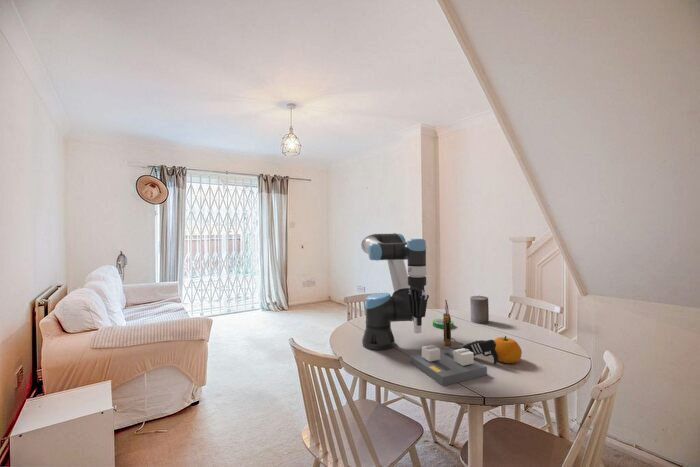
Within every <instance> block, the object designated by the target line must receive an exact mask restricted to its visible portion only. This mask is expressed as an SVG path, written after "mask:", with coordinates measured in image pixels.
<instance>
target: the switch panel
mask: <svg viewBox="0 0 700 467" xmlns="http://www.w3.org/2000/svg"><path fill="white" fill-rule="evenodd" d="M454 350H455V349H453V348H451V347H450V348H445V349H440V360H435V361H431V362H429V361H427V360H426V359H424V358H423V357H422V353H418V354H412V355H410V358H409V359H410V361H409V362H410V364H411V365H412V366H414V367H416V369H418V370H420V371H421V372H422V373H423V374H425V375H426V376H428V377H430V379H432V380H434V381H435V382H436V383H438V384H439V385H441V386H443V387H444V386H448V385H451V384H455V383H460V382H465V381H468V380H472V379H476V378H480V377H484V376H488V366H486V365H484V364H482V363H480V362H478V361H476V360H474V363H473V364H469V365H464V366H462V365H461V364H459V363H457V362H455V361H454Z"/></svg>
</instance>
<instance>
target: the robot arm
mask: <svg viewBox="0 0 700 467" xmlns="http://www.w3.org/2000/svg"><path fill="white" fill-rule="evenodd" d="M360 247H361V250H362V251H363V252H364V253H365V254H367V255H368V259H369V260H370V261H376V262H377V261H378V262H379V261H387V265H388V269H389V274H390V278H391V283H392V289H393V293H392V294H390V293H389V292H377V293H372V294H370V295H368V296H367V297H366V298H365V329H364V333H363V336H362V339H361V341H362V344H363V345H362V344H361V345H362V346H363V347H364V346H365V347H364V348H365V349H368V348H369V349H370V350H375V351H384V350H389V349H390V350H391V349H393V348H395V345H396V343H395V342H396V341H395V337H394V333H393V331H392V326H391V323H393V322H394V323H395V322H413V333H414V334H421V333H422V325H423V324H422V322H423V321H422V318H425V317H426V313H427V312H426V311H427V308H428V307H427V306H428V300H429V297H430V296H429V294H426V292H425V291H426V290H425V287H426V286H427V277H426V276H427V244H426V239H425V238H408V239H407V241H406V238H405V236H404V235H403V234H401V233H396V232H393V233H373V234H369V235H367V236H365V237H364V238H363V239H362V241H361V246H360ZM405 260H406V261H407V267H406V264H405Z"/></svg>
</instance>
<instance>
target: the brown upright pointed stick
mask: <svg viewBox="0 0 700 467" xmlns="http://www.w3.org/2000/svg"><path fill="white" fill-rule="evenodd" d="M447 301H448V300H447V299H445V301H444V302H445V307H444V310H445V313H443V314H442V317H443V318H442V319H443V320H444V329H443V343H444V346H450V348H451V349H453V350H458V349H461V348H462V347H464V346H465V345H466V344H465V343H463V342H459V341H456V339H455V338H452V328H451V321H452V317H451V315H450V313H449V310H448V309H449V305H448V302H447ZM452 340H454V342H455V343H457V344H459V346H457V347H456V348H454V347H452Z"/></svg>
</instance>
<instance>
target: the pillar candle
mask: <svg viewBox="0 0 700 467" xmlns="http://www.w3.org/2000/svg"><path fill="white" fill-rule="evenodd" d="M469 299H470V302H469V303H470V304H469V305H470V321H471V322H472V323H475V324H481V325H482V324H489V321H490V318H489V316H490V315H489V309H490V308H489V297H487V296H483V295H471V296H470V298H469Z"/></svg>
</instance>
